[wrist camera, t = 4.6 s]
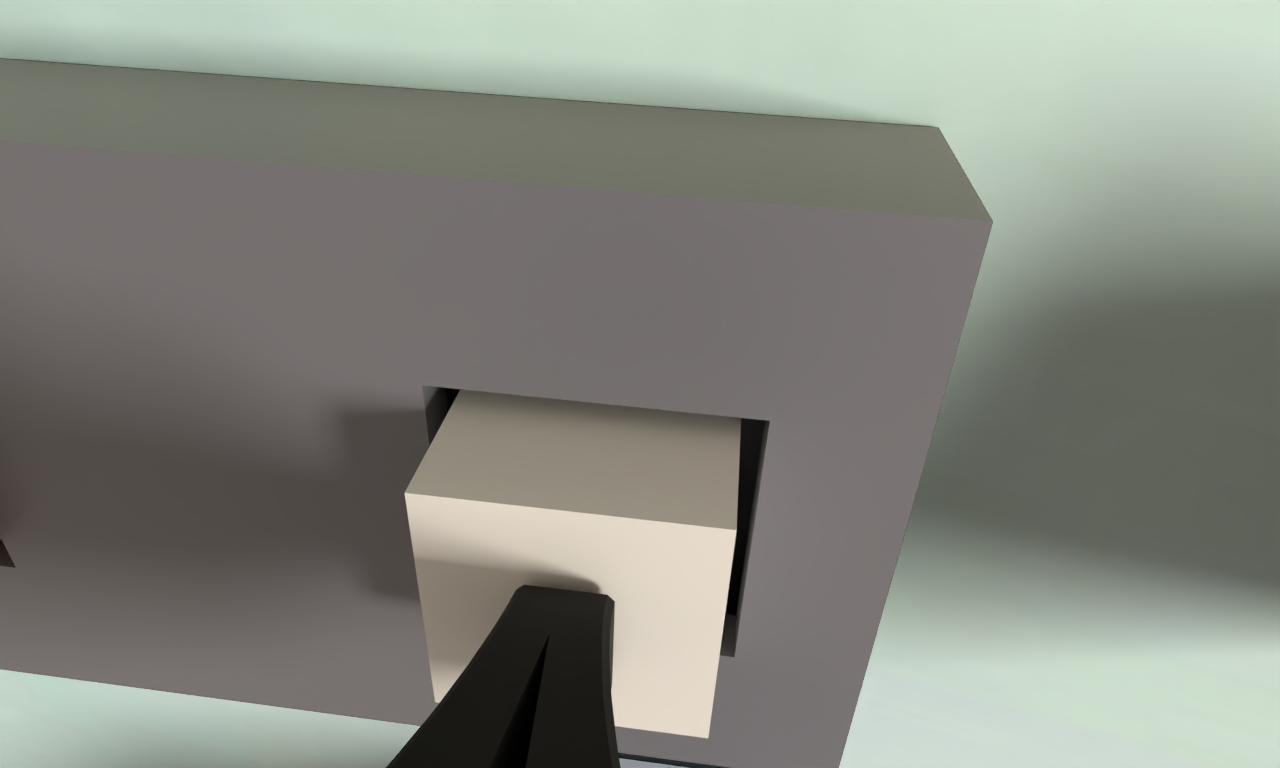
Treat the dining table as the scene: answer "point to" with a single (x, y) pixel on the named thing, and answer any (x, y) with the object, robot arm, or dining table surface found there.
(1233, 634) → the dining table surface
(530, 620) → the robot arm
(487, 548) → the off-white key
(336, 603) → the panel
